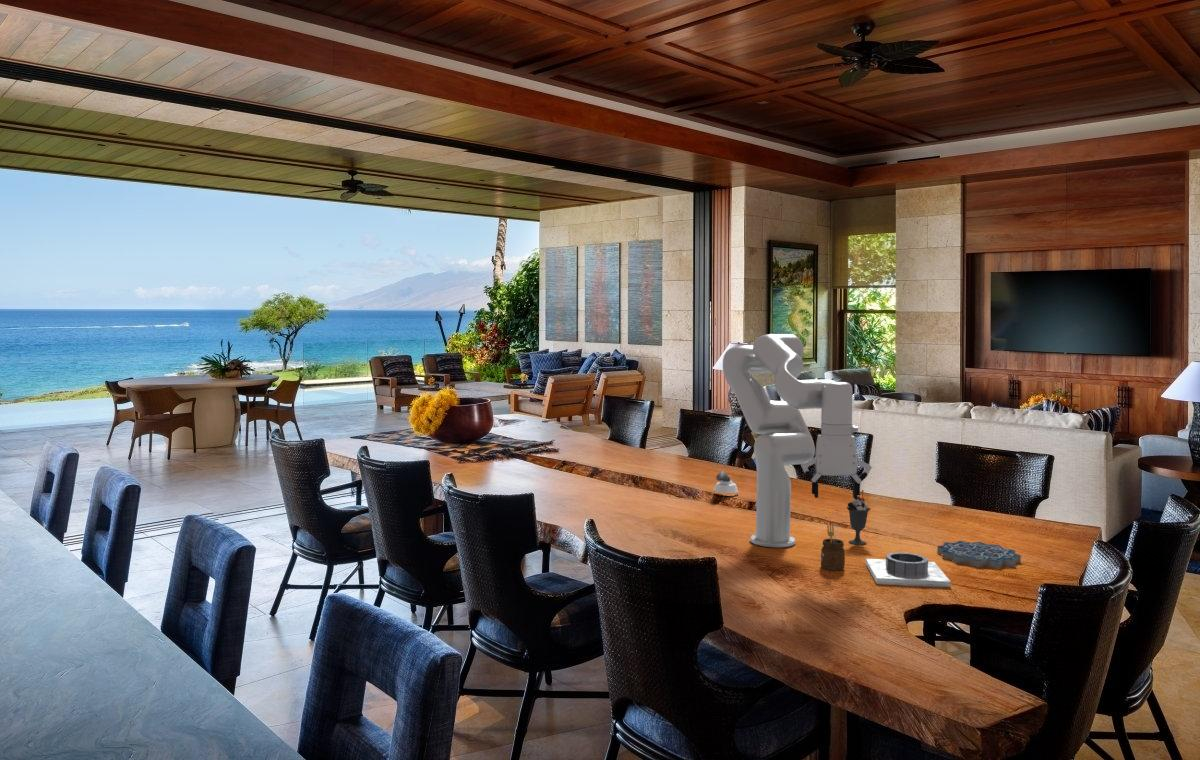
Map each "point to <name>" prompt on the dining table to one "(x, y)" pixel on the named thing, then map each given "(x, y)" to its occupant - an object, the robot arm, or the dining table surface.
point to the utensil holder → (832, 552)
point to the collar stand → (907, 571)
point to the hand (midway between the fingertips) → (835, 497)
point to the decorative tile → (979, 554)
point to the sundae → (858, 517)
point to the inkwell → (725, 484)
